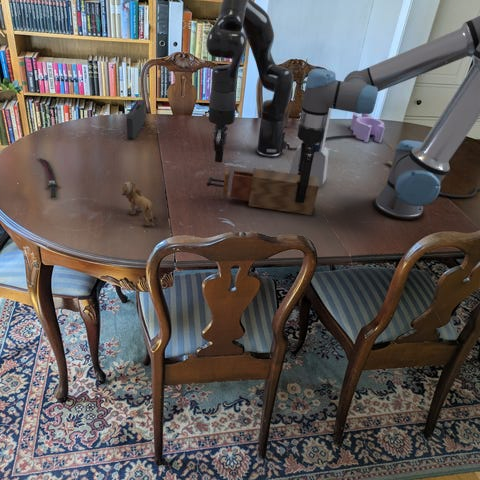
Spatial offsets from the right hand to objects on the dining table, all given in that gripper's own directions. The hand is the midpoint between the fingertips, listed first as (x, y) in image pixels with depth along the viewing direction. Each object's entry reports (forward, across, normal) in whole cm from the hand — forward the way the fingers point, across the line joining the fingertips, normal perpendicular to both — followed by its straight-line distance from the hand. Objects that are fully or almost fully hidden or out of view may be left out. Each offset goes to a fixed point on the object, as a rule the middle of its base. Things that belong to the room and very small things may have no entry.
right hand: (299, 196), depth 147 cm
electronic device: (+4, -22, +4) cm, 22 cm away
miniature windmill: (+4, -80, 0) cm, 81 cm away
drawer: (+3, 0, -17) cm, 17 cm away
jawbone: (+4, -41, +45) cm, 61 cm away
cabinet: (+4, 0, -5) cm, 7 cm away
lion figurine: (+4, +17, -47) cm, 50 cm away
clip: (+4, -80, +33) cm, 87 cm away
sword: (+5, 0, -81) cm, 82 cm away
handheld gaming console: (+5, -51, -66) cm, 83 cm away
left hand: (-9, 0, -26) cm, 28 cm away
